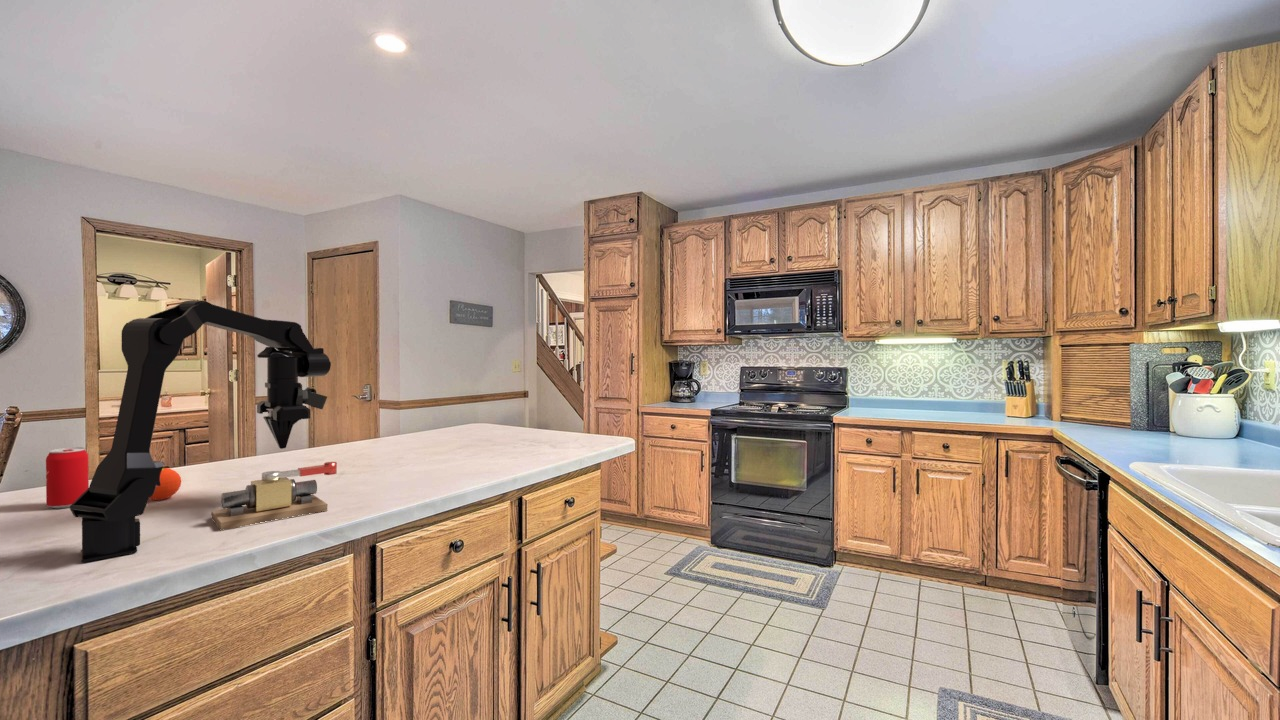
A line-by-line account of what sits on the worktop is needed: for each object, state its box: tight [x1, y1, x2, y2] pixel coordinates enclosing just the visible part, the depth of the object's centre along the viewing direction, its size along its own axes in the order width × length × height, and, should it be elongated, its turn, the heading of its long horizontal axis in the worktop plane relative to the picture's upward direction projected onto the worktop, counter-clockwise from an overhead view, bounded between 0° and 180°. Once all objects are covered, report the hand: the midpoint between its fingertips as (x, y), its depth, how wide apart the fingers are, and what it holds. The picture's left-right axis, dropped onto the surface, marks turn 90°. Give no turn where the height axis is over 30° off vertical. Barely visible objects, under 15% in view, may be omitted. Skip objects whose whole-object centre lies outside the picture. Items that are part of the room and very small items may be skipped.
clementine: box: [149, 467, 182, 501], centre depth 120 cm, size 8×7×7 cm
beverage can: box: [45, 446, 90, 509], centre depth 115 cm, size 6×6×12 cm
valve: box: [220, 477, 318, 517], centre depth 111 cm, size 16×5×6 cm, turn 136°
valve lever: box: [261, 461, 338, 481], centre depth 115 cm, size 14×3×2 cm, turn 136°
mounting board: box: [211, 494, 328, 531], centre depth 111 cm, size 18×10×2 cm, turn 136°
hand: (282, 448), depth 120 cm, fingers closed
